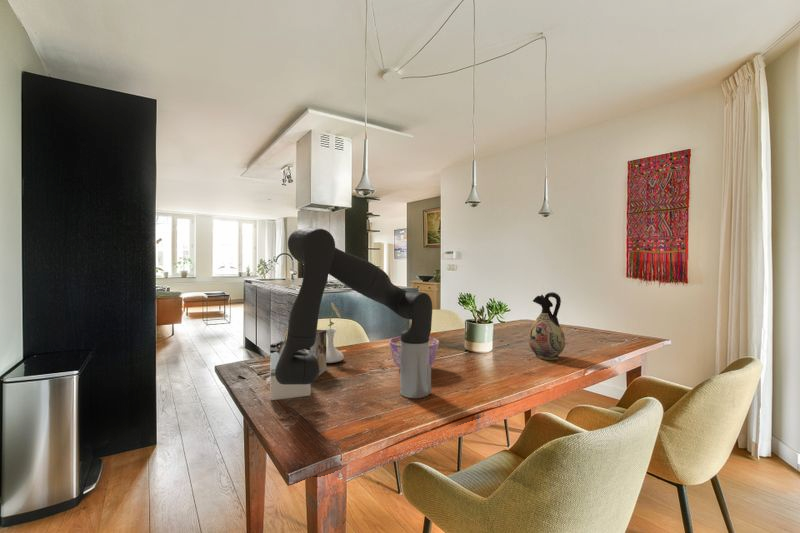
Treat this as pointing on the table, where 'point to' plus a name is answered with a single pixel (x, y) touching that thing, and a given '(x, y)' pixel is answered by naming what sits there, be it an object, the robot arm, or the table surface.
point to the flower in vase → (331, 351)
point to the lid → (276, 360)
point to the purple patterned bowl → (396, 349)
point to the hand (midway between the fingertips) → (288, 341)
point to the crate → (287, 389)
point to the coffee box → (320, 350)
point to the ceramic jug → (547, 330)
